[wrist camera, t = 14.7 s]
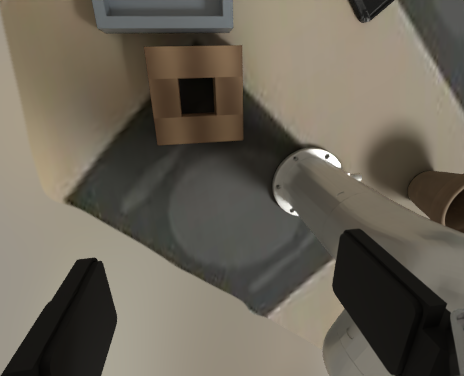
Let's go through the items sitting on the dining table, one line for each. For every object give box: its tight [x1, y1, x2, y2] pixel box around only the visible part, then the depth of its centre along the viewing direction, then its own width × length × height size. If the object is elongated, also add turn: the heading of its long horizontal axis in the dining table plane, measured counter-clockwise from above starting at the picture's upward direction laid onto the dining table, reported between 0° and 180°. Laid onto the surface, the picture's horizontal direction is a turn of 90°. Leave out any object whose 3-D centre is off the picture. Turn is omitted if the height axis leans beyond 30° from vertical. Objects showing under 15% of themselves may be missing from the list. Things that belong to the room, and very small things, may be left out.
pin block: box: [144, 45, 243, 145], centre depth 36 cm, size 12×12×4 cm
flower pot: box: [408, 171, 464, 233], centre depth 46 cm, size 12×11×10 cm
